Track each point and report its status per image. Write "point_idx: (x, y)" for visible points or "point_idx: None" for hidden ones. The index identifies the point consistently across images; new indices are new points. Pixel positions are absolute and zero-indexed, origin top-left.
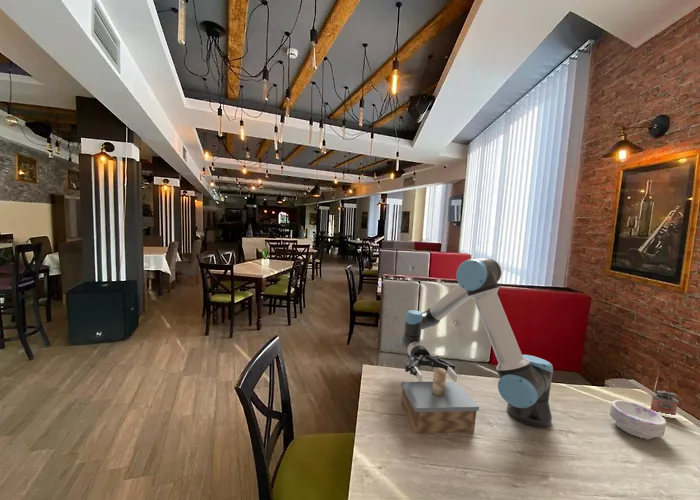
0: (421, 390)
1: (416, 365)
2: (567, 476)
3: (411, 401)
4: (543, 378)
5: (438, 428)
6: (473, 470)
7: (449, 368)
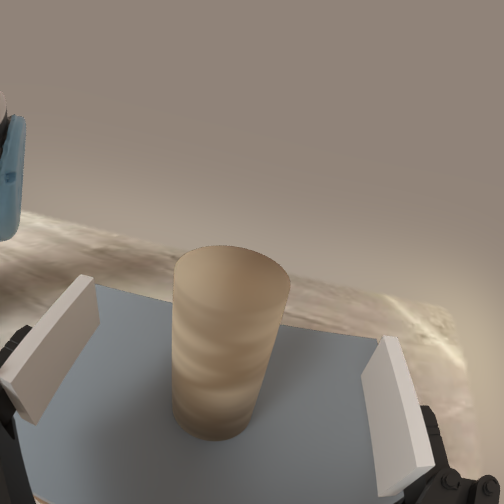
0: (309, 454)
1: None
2: (66, 241)
3: None
4: None
5: None
6: None
7: (31, 352)
